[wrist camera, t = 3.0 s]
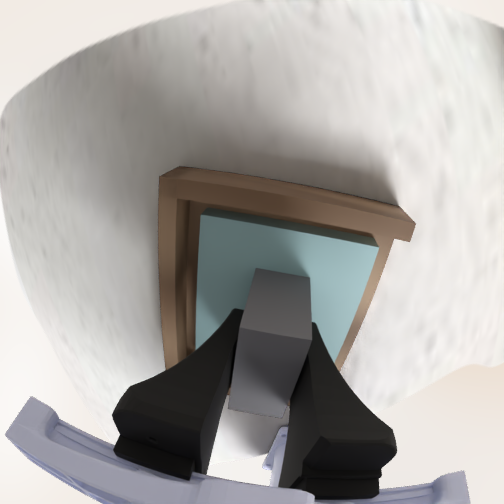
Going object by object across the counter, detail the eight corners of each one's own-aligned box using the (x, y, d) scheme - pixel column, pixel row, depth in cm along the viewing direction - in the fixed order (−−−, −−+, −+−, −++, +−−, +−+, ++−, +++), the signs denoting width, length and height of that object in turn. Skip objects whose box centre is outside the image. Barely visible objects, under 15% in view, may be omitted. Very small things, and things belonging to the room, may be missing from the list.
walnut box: (329, 384, 18) (331, 410, 16) (177, 355, 19) (166, 379, 17) (399, 206, 12) (416, 223, 10) (179, 166, 13) (159, 176, 11)
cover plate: (323, 372, 17) (324, 442, 12) (199, 350, 17) (174, 416, 13) (374, 238, 13) (406, 302, 8) (207, 207, 13) (162, 258, 9)
